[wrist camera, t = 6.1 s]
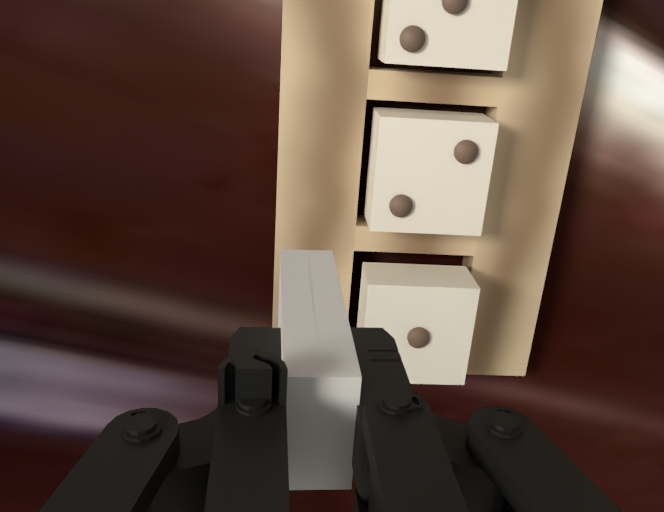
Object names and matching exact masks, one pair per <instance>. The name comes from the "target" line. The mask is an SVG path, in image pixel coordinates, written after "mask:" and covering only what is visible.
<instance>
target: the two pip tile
mask: <svg viewBox="0 0 664 512" xmlns="http://www.w3.org/2000/svg"><path fill="white" fill-rule="evenodd" d="M498 128H499V123H498V122H496V121H494V120H493V119H491V118H489V117H488V116H486V115H484V114H483V113H470V112H452V111H435V110H418V109H401V108H384V107H373V115H372V126H371V138H370V149H369V160H368V172H367V183H366V195H365V206H364V215H365V218H366V221H367V224H368V228H369V231H376V232H399V233H421V234H444V235H467V236H481V233H482V227H483V220H484V214H485V208H486V202H487V196H488V190H489V184H490V177H491V171H492V165H493V159H494V153H495V147H496V140H497V134H498Z"/></svg>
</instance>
